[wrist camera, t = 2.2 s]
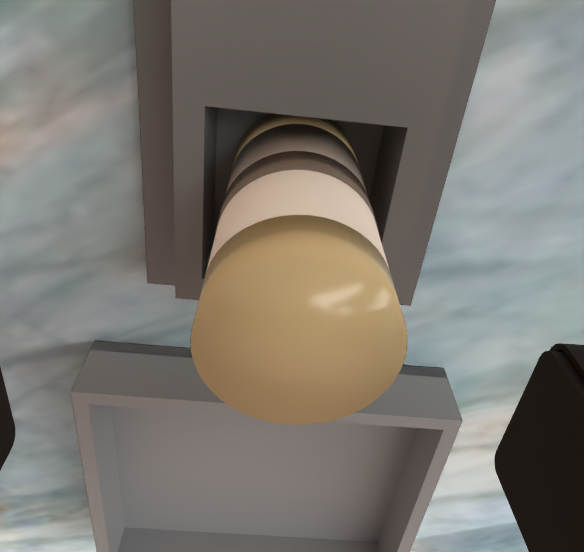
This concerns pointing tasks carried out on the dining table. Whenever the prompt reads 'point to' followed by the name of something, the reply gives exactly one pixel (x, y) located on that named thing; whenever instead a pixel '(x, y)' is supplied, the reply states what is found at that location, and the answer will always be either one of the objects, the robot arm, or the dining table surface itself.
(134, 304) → the dining table surface
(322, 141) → the fuse
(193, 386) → the tray
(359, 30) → the fuse block
